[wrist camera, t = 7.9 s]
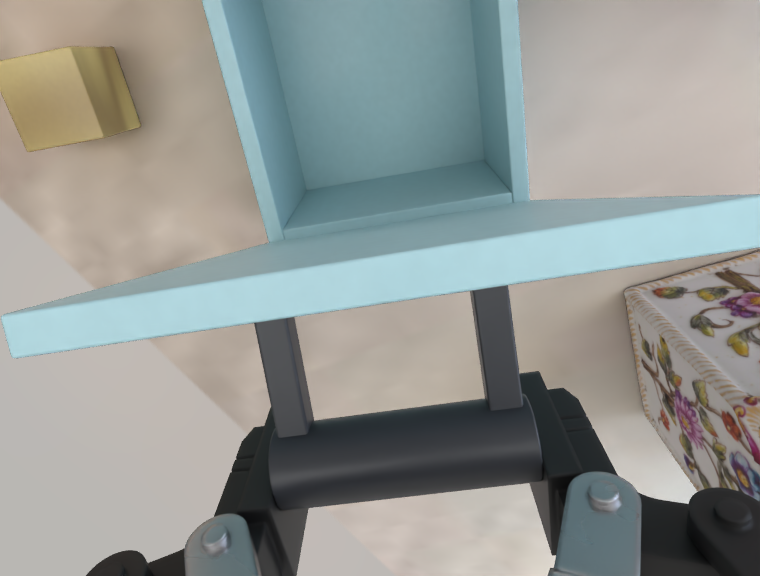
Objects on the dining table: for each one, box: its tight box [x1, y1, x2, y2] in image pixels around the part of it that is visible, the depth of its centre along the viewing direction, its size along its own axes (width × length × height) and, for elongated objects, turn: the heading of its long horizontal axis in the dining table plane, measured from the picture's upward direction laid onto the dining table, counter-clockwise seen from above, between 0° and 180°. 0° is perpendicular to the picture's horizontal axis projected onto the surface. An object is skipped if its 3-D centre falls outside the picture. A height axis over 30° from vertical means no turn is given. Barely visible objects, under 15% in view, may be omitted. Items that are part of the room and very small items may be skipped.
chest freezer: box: [202, 0, 530, 243], centre depth 26 cm, size 16×13×9 cm
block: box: [0, 46, 141, 152], centre depth 29 cm, size 4×4×4 cm
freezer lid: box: [1, 194, 760, 511], centre depth 17 cm, size 16×13×5 cm
